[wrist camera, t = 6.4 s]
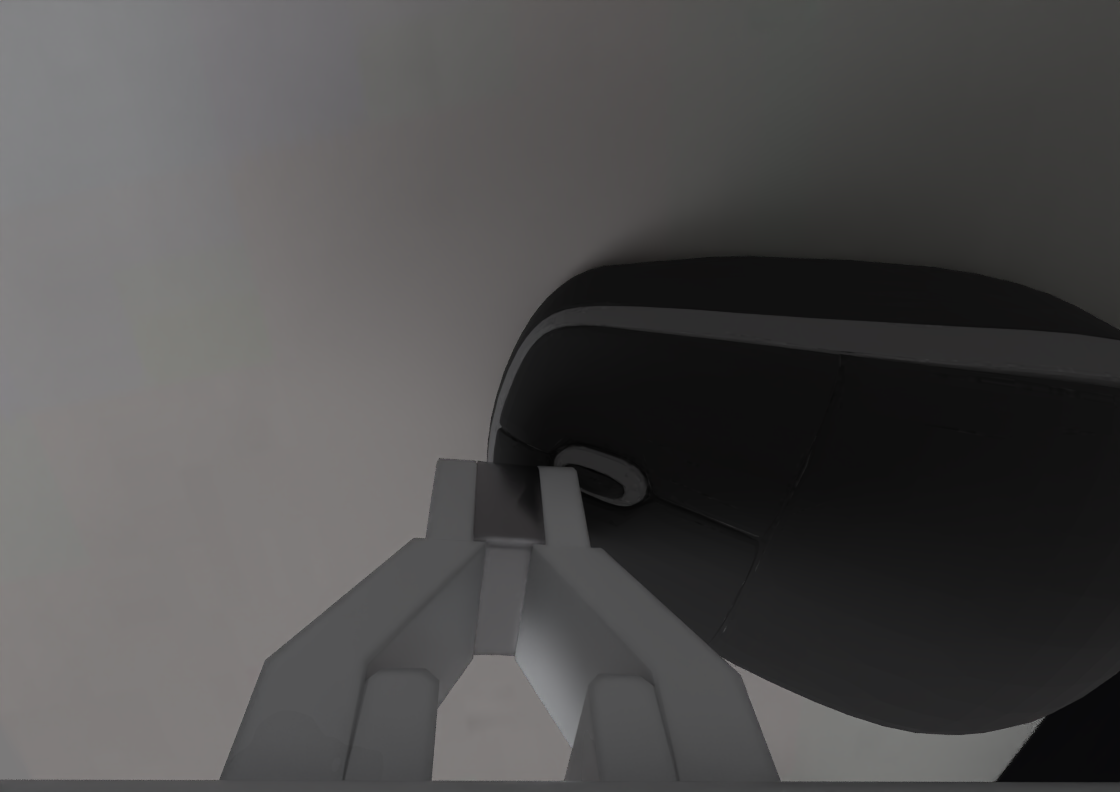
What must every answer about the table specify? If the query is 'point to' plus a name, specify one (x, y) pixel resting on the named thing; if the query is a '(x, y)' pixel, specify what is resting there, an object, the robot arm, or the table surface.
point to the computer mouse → (844, 473)
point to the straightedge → (1074, 742)
